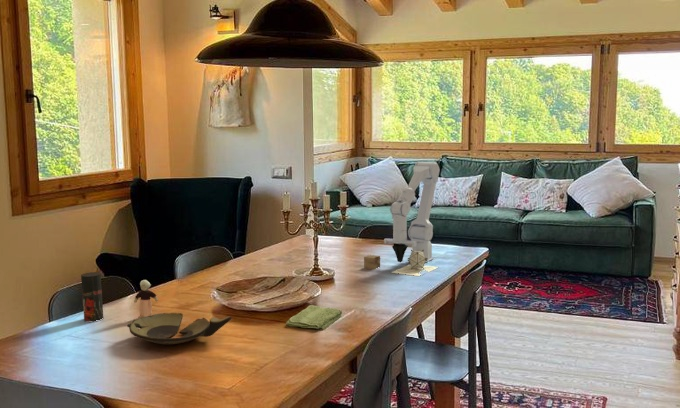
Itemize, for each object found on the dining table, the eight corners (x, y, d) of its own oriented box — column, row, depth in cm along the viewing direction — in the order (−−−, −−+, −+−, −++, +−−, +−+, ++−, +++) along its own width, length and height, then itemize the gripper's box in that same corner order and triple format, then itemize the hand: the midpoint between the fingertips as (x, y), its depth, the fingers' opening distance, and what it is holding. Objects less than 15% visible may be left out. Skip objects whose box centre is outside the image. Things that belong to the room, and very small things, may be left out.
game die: (420, 276, 282) (432, 256, 283) (420, 273, 274) (433, 253, 275) (402, 265, 284) (414, 245, 285) (401, 262, 276) (414, 242, 277)
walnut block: (370, 266, 287) (370, 254, 287) (380, 267, 285) (380, 255, 284) (364, 268, 283) (363, 256, 283) (374, 269, 281) (374, 258, 280)
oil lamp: (165, 323, 212) (164, 300, 211) (242, 337, 198) (241, 312, 197) (111, 345, 192) (109, 320, 191) (192, 362, 178) (190, 334, 177)
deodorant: (107, 318, 218) (104, 273, 216) (92, 322, 213) (89, 277, 211) (95, 315, 222) (92, 271, 219) (80, 320, 216) (77, 275, 214)
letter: (411, 264, 289) (411, 263, 289) (438, 267, 282) (438, 267, 282) (391, 272, 274) (391, 272, 274) (419, 276, 267) (419, 276, 267)
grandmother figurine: (134, 320, 215) (132, 282, 214) (134, 317, 219) (132, 279, 217) (159, 318, 217) (157, 280, 216) (159, 314, 221) (157, 277, 219)
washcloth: (284, 328, 207) (283, 318, 206) (310, 312, 222) (309, 303, 222) (321, 333, 201) (321, 322, 201) (345, 316, 217) (345, 307, 217)
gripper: (380, 230, 283) (380, 261, 285) (410, 232, 275) (410, 265, 277) (388, 227, 289) (388, 258, 291) (418, 230, 281) (418, 261, 283)
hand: (400, 261), depth 284 cm, fingers closed
